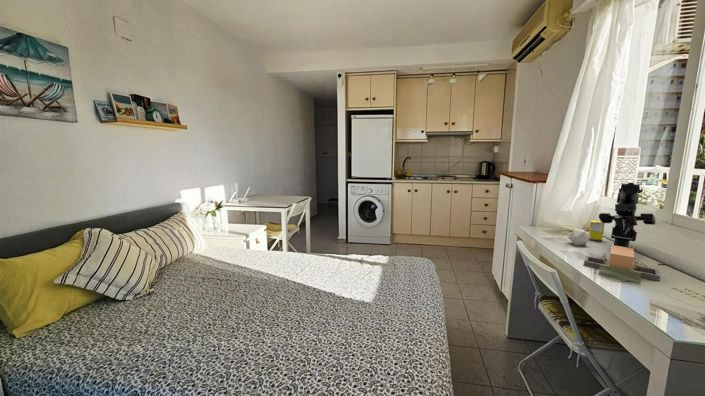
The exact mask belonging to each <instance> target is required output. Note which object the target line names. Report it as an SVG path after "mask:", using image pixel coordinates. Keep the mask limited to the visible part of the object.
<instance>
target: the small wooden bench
mask: <svg viewBox="0 0 705 396" xmlns="http://www.w3.org/2000/svg"><path fill="white" fill-rule="evenodd" d="M606 257H607V253H605V252H604V253H602V258H601V259H602V262H601V264H600V269H599V268H598V274H599V275H603V276H607V277H612V278H617V279H621V280H626V281H629V282H634V283H639V284H640V283H641V279H642V277H641V272H639V266H640V262H639V260H640V259H636V258H634V270H633V269H632V270H628V269H623V268H618V267H613V266H609V264H608V265H607V264H605V263H606V262H605V261H606Z"/></svg>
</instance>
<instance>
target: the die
mask: <svg viewBox="0 0 705 396" xmlns="http://www.w3.org/2000/svg"><path fill="white" fill-rule="evenodd" d="M567 239H569V240H570V242H572V243H573V244H574V245H575V246H586V244H588V242H589V241H590V240H589V239H590V236H589V233H587V232H586V231H585V230H583V229H572V231H571V232H570V234H569V236H568V237H567Z"/></svg>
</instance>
